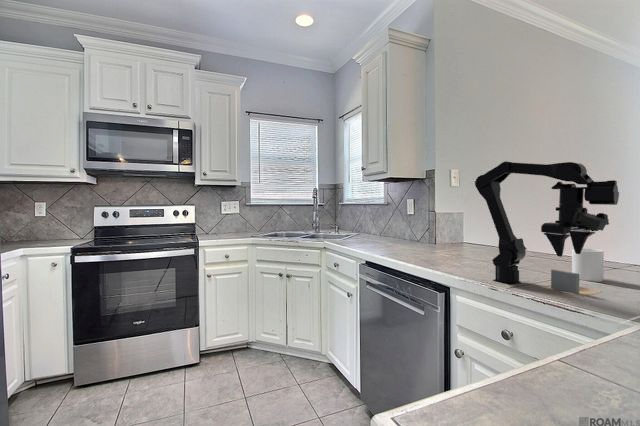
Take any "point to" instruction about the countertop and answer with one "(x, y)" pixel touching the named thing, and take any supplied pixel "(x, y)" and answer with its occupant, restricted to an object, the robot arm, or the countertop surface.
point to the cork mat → (582, 291)
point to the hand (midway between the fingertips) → (568, 255)
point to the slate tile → (565, 281)
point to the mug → (589, 264)
